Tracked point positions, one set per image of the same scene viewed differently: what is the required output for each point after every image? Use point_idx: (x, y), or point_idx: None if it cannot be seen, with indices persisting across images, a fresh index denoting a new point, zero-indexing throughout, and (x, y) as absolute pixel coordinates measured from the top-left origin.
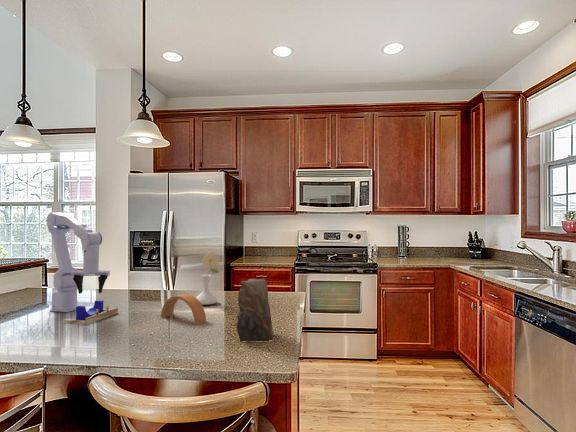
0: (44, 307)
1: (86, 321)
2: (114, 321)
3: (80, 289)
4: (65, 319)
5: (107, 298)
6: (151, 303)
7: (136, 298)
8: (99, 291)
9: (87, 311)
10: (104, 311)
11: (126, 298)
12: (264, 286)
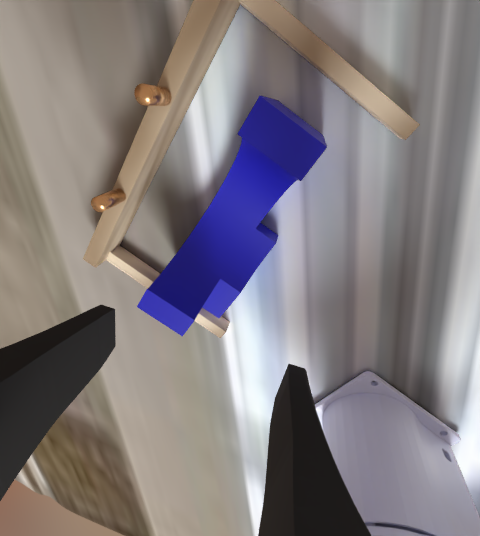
0: None
1: None
2: (61, 15)
3: (286, 403)
4: (402, 116)
5: (209, 498)
6: None
7: (101, 450)
8: (93, 313)
9: (254, 269)
10: (134, 181)
11: (138, 466)
12: None
